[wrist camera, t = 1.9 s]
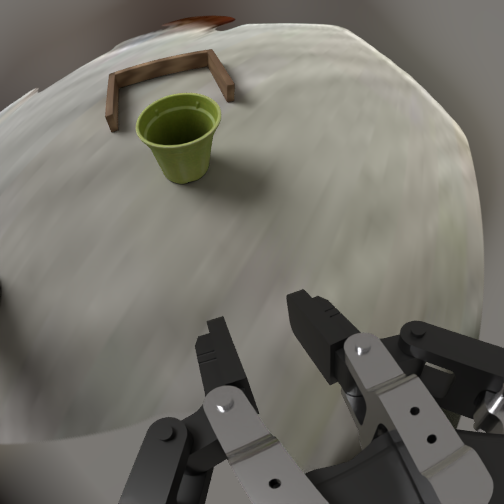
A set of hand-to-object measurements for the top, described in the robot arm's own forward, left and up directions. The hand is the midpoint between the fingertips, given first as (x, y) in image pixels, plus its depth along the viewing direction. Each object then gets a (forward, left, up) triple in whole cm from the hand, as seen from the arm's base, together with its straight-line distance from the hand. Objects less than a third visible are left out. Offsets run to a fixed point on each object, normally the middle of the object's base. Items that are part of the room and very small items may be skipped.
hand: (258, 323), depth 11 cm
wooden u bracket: (0, +42, -16) cm, 45 cm away
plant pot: (0, +23, -16) cm, 28 cm away
